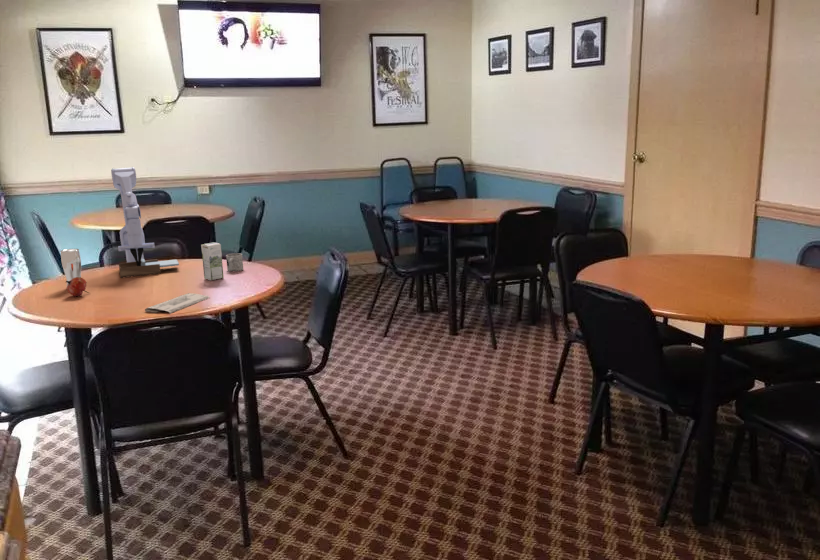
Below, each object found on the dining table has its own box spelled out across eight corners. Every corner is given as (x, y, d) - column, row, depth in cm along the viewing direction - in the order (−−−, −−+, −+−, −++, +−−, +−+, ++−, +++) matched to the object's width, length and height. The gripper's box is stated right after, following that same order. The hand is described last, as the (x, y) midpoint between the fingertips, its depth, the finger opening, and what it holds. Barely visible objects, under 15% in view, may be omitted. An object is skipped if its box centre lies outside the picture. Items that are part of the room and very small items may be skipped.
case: (119, 272, 309) (118, 263, 308) (158, 268, 315) (157, 259, 314) (120, 277, 297) (119, 268, 296) (160, 273, 303) (159, 264, 302)
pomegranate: (84, 298, 274) (59, 286, 268) (94, 282, 274) (70, 270, 268) (86, 304, 268) (60, 292, 262) (97, 288, 268) (72, 275, 262)
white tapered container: (72, 285, 287) (66, 248, 284) (88, 285, 286) (82, 248, 283) (61, 289, 280) (56, 251, 277) (78, 289, 279) (72, 251, 276)
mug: (230, 268, 308) (228, 253, 306) (245, 268, 307) (243, 253, 306) (223, 273, 298) (221, 258, 296) (238, 273, 298) (237, 257, 296)
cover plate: (141, 264, 311) (140, 258, 310) (176, 261, 316) (176, 254, 316) (142, 269, 301) (141, 262, 300) (179, 265, 306) (178, 258, 306)
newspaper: (182, 297, 261) (182, 291, 261) (210, 302, 257) (210, 296, 257) (138, 313, 241) (138, 306, 240) (168, 319, 237) (168, 312, 236)
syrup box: (216, 276, 292) (213, 241, 289) (224, 278, 288) (220, 243, 285) (204, 279, 288) (200, 244, 285) (211, 281, 284) (207, 245, 281)
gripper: (116, 237, 296) (120, 269, 299) (153, 234, 301) (157, 265, 304) (116, 235, 302) (120, 266, 305) (152, 231, 308) (156, 262, 311)
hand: (138, 265), depth 305 cm, fingers closed
